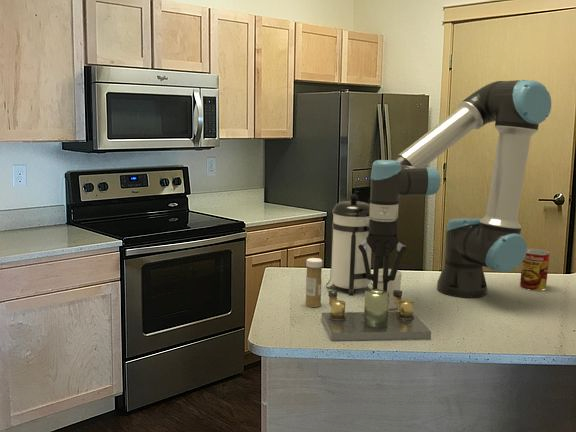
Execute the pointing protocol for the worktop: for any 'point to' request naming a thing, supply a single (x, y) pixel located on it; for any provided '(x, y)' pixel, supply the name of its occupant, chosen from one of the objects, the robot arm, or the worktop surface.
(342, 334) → the base
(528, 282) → the canned food
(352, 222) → the coffee press
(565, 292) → the worktop surface
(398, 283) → the white cup
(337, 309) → the lever
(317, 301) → the sprinkles bottle
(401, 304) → the lever
